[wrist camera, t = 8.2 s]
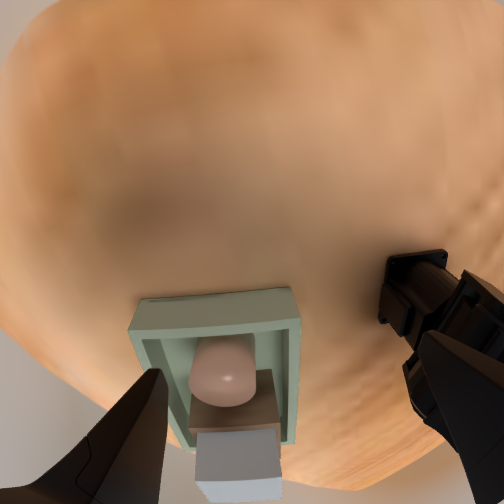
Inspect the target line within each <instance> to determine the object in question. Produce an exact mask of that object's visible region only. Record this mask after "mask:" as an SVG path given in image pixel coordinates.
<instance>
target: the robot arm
mask: <svg viewBox="0 0 504 504" xmlns="http://www.w3.org/2000/svg"><path fill="white" fill-rule="evenodd" d="M443 254H444V255H443ZM442 255H443V256H442ZM447 258H448V253H447V252H446V251H445V250H435V251H427V252H419V253H411V254H403V255H395V256H391V257H389V258H388V260H387V264H386V272H385V279H384V283H383V285H382V291H381V297H380V303H379V315H378V321H379V322H380V324H387V323H390V325H391V326H392V327H393V329H394V330H395V332H396V333H397V335H398V336H400V337H403V336H404V338H405V339H406V341H407V342H408V343H409V345H410V346H411V348H412V349H413V351H414V353H413V354H412V355H411V357H410V358H409V359H408V360H406V362H405V363H404V364H403V365H402V368H403V372H404V376H405V380H406V384H407V388H408V393H409V397H410V401H411V404H412V407H413V410H414V411H415V412H416V413H417V414H418V415H419V416H420V417H421V418H422V419H423V422H424V423H425V424H426V425H428V426H430V427H431V428H433V429H435V430H436V431H437V432H438V433H440V434H441V435H442V436H443V437H444V438H445V439H446V440H447V441H448V442H449V443H450V445H451V446H452V447H453V448H454V450H455V451H456V452H457V453H459V456H460V458H461V461H462V464H463V466H464V469H465V472H466V475H467V478H468V481H469V484H470V487H471V490H472V493H473V497H474V500H475V503H476V504H498V503H499V502H501V501H502V500H503V499H504V294H503V293H502V292H501V291H500V290H498V289H497V288H496V287H494V286H493V285H492V284H490V283H488V282H486V281H485V280H483V279H481V278H479V277H478V276H476V275H474V274H472V273H470V272H469V271H467V270H465V269H464V271H463V273H462V275H461V279H460V280H458V279H457V278H456V277H455V276H453V275H452V274H451V273H450V272H449V271H447V270H446V269H445V268H446V263H447ZM393 261H394V263H393V264H392V262H393ZM383 318H384V319H383ZM168 396H169V388H168V384H167V381H166V379H165V376H164V374H163V371H162V370H161V369H160V368H149V369H147V370H146V372H145V373H144V374H143V375H142V376H141V377H140V378H139V379H138V380H137V381H136V382H135V383H134V384H133V386H132V387H131V388H130V389H129V390H128V391H127V392H126V393H125V394H124V395H123V396H122V397H121V398H120V399H119V401H118V402H117V403H116V404H115V405H114V406H113V407H112V408H111V409H110V410H109V411H108V412H107V413H106V415H105V416H104V417H103V418H102V419H101V420H100V421H99V422H98V423H97V424H96V425H95V426H94V427H93V428H92V430H90V432H89V433H88V434H87V436H85V437H84V438H83V439H82V440H81V441H80V442H79V443H78V444H77V445H76V446H75V447H74V448H73V449H72V450H71V451H70V452H69V453H68V454H67V455H66V456H65V457H64V458H62V459H61V460H60V461H59V462H58V463H57V464H56V465H54V466H53V467H52V468H51V469H49V470H48V471H47V472H46V473H44V474H43V475H42V476H41V477H40V478H38V479H37V480H36V481H34V482H32V483H30V484H28V485H25V486H21V487H12V488H2V489H0V504H158V501H159V491H160V483H161V474H162V466H163V459H164V451H165V444H166V437H167V428H168Z"/></svg>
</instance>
